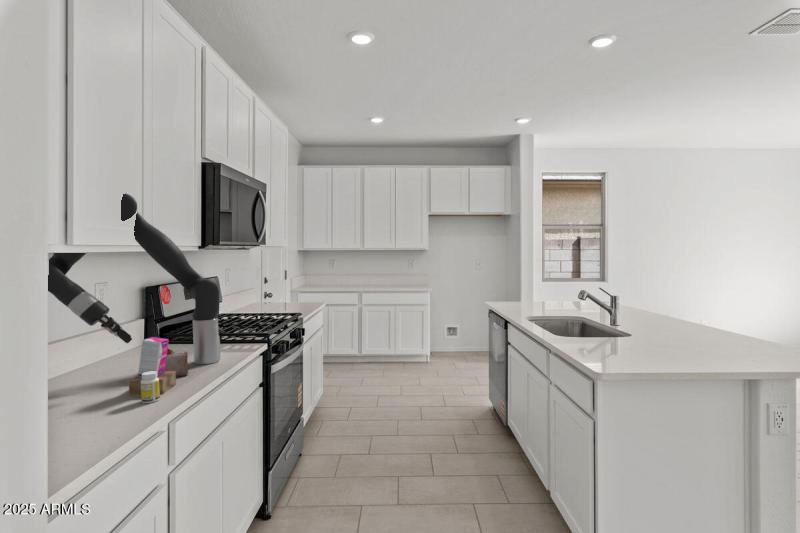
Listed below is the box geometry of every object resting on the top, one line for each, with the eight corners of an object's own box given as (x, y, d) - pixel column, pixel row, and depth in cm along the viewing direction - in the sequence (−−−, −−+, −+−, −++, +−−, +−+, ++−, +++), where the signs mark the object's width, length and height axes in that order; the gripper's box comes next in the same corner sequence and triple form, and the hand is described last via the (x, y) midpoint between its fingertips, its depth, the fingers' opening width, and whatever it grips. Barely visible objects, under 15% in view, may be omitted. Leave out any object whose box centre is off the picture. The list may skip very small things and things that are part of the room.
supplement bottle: (155, 397, 137) (154, 369, 136) (162, 400, 134) (161, 372, 133) (138, 401, 133) (137, 373, 133) (145, 404, 130) (144, 375, 130)
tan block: (144, 387, 148) (144, 372, 148) (176, 385, 149) (175, 370, 149) (129, 397, 139) (128, 381, 138) (163, 395, 139) (162, 379, 139)
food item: (143, 381, 154) (142, 353, 153) (148, 375, 161) (146, 348, 161) (187, 377, 158) (186, 349, 158) (189, 371, 166) (188, 344, 166)
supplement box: (156, 378, 141) (159, 342, 141) (137, 376, 141) (141, 340, 140) (165, 373, 147) (169, 338, 146) (147, 370, 147) (151, 336, 146)
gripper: (96, 296, 143) (138, 329, 147) (100, 303, 155) (139, 333, 159) (75, 313, 140) (119, 347, 143) (81, 319, 152) (121, 350, 155)
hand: (129, 340), depth 151 cm, fingers open, 8 cm apart
